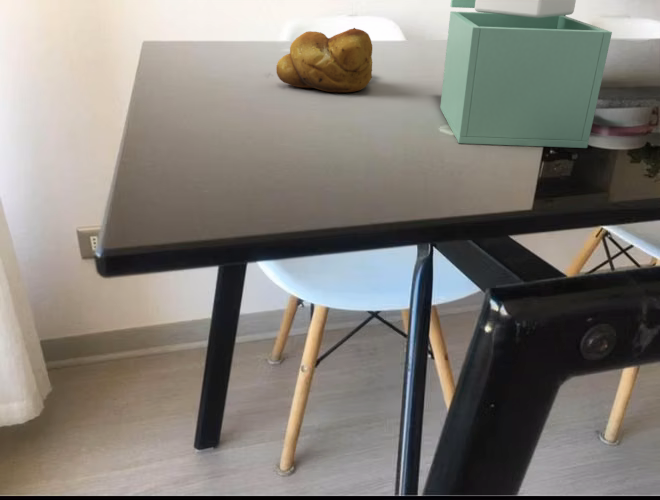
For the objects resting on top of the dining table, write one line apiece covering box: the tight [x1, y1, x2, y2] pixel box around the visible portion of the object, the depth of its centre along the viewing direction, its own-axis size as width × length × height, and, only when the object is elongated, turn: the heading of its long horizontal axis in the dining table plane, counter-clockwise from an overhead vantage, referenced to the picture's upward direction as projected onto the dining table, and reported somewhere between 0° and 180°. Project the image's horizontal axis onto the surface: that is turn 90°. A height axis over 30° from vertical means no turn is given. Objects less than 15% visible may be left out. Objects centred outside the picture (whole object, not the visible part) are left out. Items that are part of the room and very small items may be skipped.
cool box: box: [439, 11, 613, 149], centre depth 65 cm, size 14×12×11 cm
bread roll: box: [275, 27, 373, 93], centre depth 81 cm, size 13×10×8 cm
